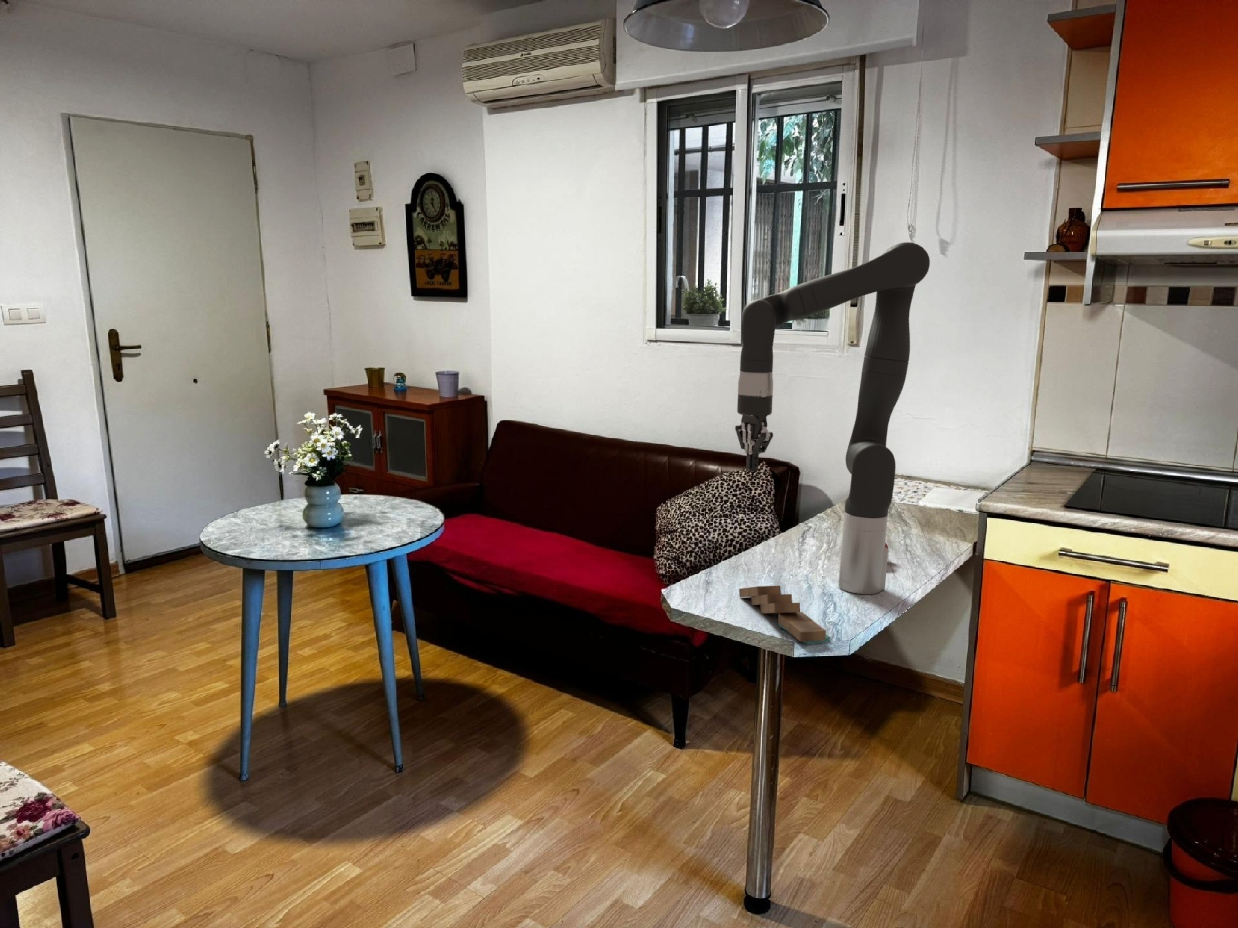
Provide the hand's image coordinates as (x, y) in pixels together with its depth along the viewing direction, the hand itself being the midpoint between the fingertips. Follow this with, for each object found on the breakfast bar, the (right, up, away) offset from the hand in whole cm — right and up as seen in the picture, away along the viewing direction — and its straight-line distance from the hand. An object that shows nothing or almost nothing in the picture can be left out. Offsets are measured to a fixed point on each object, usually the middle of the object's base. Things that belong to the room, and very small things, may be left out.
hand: (751, 470), depth 189 cm
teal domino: (+4, -30, -21) cm, 37 cm away
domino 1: (-1, -26, -6) cm, 27 cm away
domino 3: (+2, -28, -16) cm, 32 cm away
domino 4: (+4, -28, -23) cm, 37 cm away
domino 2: (+1, -27, -11) cm, 29 cm away
